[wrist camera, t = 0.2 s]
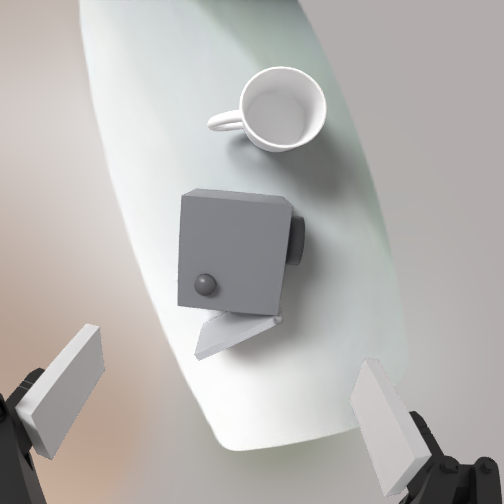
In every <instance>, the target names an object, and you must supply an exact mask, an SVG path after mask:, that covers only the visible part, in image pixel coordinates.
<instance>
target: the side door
mask: <svg viewBox="0 0 504 504" xmlns="http://www.w3.org/2000/svg"><path fill="white" fill-rule="evenodd" d="M282 322H283V317H282V312H281V307H280V302H279V309H278V316H277V315H264V314H252V313H241V312H230V311H228V312H226V313H224V314H222V315H220V316H218V317H216V318H214V319H212V320H210V321H208V322H206V323H204V324H203V325H202V329H201V333H200V336H199V340H198V343H197V347H196V351H195V354H194V355H195V356H196V358H197V359H198V360H202V359H204V358H206V357H209V356H211V355H213V354H215V353H218V352H220V351H222V350H224V349H226V348H229V347H231V346H233V345H235V344H237V343H240V342H242V341H244V340H246V339H248V338H250V337H252V336H254V335H257V334H259V333H261V332H263V331H265V330H267V329H269V328H271V327H273V326H275V325H277V324H281V323H282Z"/></svg>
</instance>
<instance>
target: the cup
mask: <svg viewBox="0 0 504 504" xmlns="http://www.w3.org/2000/svg"><path fill="white" fill-rule="evenodd" d="M326 114H327V105H326V100H325V96H324V94H323V92H322V90H321V88H320V86H319V85H318V84H317V83H316V81H315V80H314V79H312V78H311V77H310V76H309V75H307V74H306V73H304V72H302V71H300V70H297V69H294V68H290V67H273V68H269V69H266V70H263V71H261V72H259V73H258V74H256V75H255V76H254V77H252V78H251V79H250V80H249V82H248V83H247V84H246V86H245V87H244V89H243V92H242V94H241V98H240V110H235V111H230V112H226V113H222V114H218V115H216V116H214V117H212V118H211V119H210V120H209V121H208V128H209V129H210V130H213V131H230V130H238V129H244V131H245V133H246V135H247V137H248V138H249V139H250V140H251V142H253V143H254V144H255V145H256V146H258V147H259V148H261V149H263V150H266V151H270V152H284V151H288V150H291V149H293V148H296V147H299V146H301V145H304V144H306V143H308V142H309V141H311V140H312V139H313V138H314V137H315V136H316V135H317V134H318V133H319V132H320V130H321V129H322V127H323V125H324V122H325V119H326Z"/></svg>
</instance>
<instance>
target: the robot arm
mask: <svg viewBox="0 0 504 504" xmlns="http://www.w3.org/2000/svg"><path fill="white" fill-rule="evenodd" d="M104 371H105V368H104V360H103V353H102V345H101V336H100V327H99V326H94V325H90V324H86V325H85V326H84V327H83V328H82V329H81V330H80V331H79V332H78V334H77V335H76V336H75V337H74V338H73V339H72V340H71V341H70V343H69V344H68V345H67V346H66V347H65V348H64V349H63V350H62V352H61V353H60V354H59V355H58V356H57V357H56V358H55V360H54V361H53V362H52V363H51V364H50V365H49V367H48V368H47V369H46V370H44V369H41V368H38V369H36V370H34V371H32V372H31V373H29V374H28V376H27V377H26V378H25V379H24V381H22V383H21V384H20V385H19V387H17V388H16V390H15V391H14V392H13V393H12V394H11V395H10V397H9V398H8V399H7V400H6V401H4V398H3V396H2V395H1V393H0V504H47V503H46V500H45V498H44V495H43V492H42V489H41V486H40V483H39V480H38V477H37V474H36V470H35V467H34V464H33V460H32V457H31V454H30V452H29V450H30V449H31V447H32V445H33V447H34V449H35V451H36V453H37V454H39V455H41V456H43V457H46V458H48V459H50V460H52V459H53V458H54V456H55V454H56V452H57V450H58V449H59V447H60V445H61V443H62V441H63V440H64V438H65V436H66V434H67V433H68V431H69V429H70V427H71V426H72V424H73V422H74V421H75V419H76V417H77V415H78V414H79V412H80V410H81V409H82V407H83V405H84V404H85V402H86V400H87V399H88V397H89V395H90V394H91V392H92V390H93V389H94V387H95V386H96V384H97V382H98V381H99V379H100V377H101V376H102V374H103V373H104ZM349 400H350V403H351V406H352V408H353V411H354V414H355V416H356V419H357V422H358V424H359V427H360V430H361V433H362V435H363V438H364V440H365V443H366V446H367V449H368V452H369V455H370V457H371V460H372V463H373V466H374V469H375V472H376V474H377V477H378V480H379V483H380V486H381V489H382V492H383V495H384V497H386V496H391V495H396V494H400V493H401V492H402V491H403V490H404V489H405V487H406V486H407V488H408V491H409V493H408V494H407V495H406V496H405V497H404V498H403V499H402V500H401V501H400V503H399V504H502V495H501V485H500V477H499V470H498V466H497V463H496V462H495V461H494V460H493V459H491V458H489V457H481V458H479V459H478V460H477V461H476V462H475V464H473V465H464V464H463V465H462V464H459V462H458V461H457V460H456V459H454V458H453V457H450V456H444V454H443V452H442V451H441V449H440V447H439V445H438V443H437V442H436V440H435V438H434V436H433V435H432V434H431V431H430V429H429V428H428V427H427V424H426V422H425V421H424V419H423V418H422V417H421V416H420V415H419V414H418V413H417V412H415V411H412V412H408V410H407V408H406V407H405V405H404V403H403V401H402V400H401V398H400V396H399V394H398V393H397V391H396V389H395V387H394V386H393V384H392V382H391V380H390V379H389V377H388V375H387V373H386V372H385V370H384V368H383V367H382V365H381V363H380V362H379V360H378V359H364V362H363V365H362V368H361V370H360V373H359V376H358V378H357V381H356V383H355V386H354V388H353V391H352V393H351V396H350V398H349Z"/></svg>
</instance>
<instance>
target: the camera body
mask: <svg viewBox="0 0 504 504" xmlns="http://www.w3.org/2000/svg"><path fill="white" fill-rule="evenodd" d="M291 214H292V205H291V204H290V203H289V202H288V201H287V200H286V199H285V198H284V197H282V196H273V195H263V194H253V193H243V192H232V191H221V190H209V189H195V190H192V191H190V192H188V193H186V194H184V195H182V199H181V216H180V235H179V261H178V306H184V307H192V308H201V309H211V310H220V311H230V312H241V313H252V314H264V315H277V316H278V309H279V302H280V296H281V289H282V282H283V275H284V267H285V264H291V265H298V264H299V263H300V260H301V257H302V253H303V247H304V238H305V225H304V219H303V217H298V216H291Z"/></svg>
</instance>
